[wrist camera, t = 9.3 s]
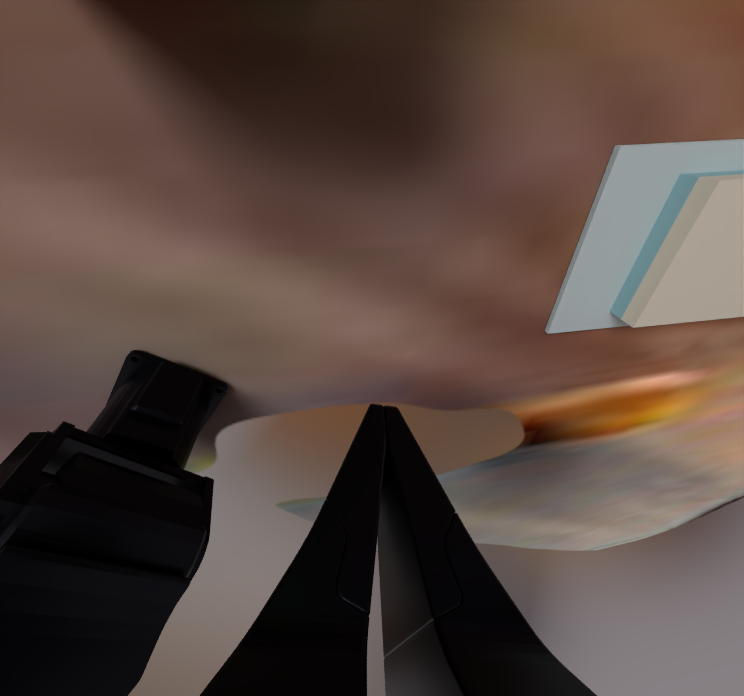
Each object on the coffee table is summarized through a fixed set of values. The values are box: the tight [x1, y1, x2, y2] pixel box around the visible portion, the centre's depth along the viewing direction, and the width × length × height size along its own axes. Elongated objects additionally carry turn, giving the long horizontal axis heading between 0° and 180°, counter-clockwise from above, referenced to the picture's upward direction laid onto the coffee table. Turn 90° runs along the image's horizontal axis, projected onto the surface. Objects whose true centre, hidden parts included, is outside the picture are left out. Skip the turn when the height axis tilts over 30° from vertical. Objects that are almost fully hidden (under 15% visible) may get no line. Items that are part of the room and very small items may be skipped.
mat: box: [545, 139, 744, 334], centre depth 20 cm, size 17×12×1 cm
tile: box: [610, 170, 744, 328], centre depth 20 cm, size 2×9×12 cm
